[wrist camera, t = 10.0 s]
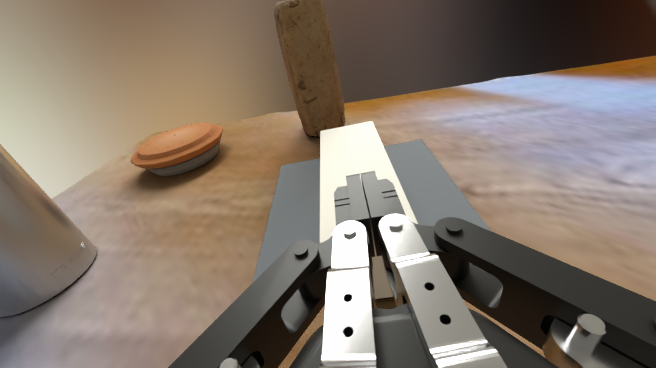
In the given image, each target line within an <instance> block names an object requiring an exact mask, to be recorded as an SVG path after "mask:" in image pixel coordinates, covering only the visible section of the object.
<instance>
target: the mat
mask: <svg viewBox="0 0 656 368" xmlns="http://www.w3.org/2000/svg"><path fill="white" fill-rule="evenodd" d="M384 148H385V151H386V153H387V155H388V157H389V160H390V162H391V164H392V166H393V169H394V171H395V173H396V175H397V178H398V180H399V182H400V184H401V186H402V189H403V191H404V193H405V195H406V198H407V200H408V202H409V204H410V207H411V209H412V211H413V213H414V216H415V218H416V220H417V222H418V224H419V225H425V226H435V224H436V222H437V221H439V220H440V219H443V218H447V217H456V218H460V219H463V220H466V221H468V222H470V223H473V224H475V225H477V226H480V227H482V228H484V229H487V230H489V231H490V229H489V228H488V227H487V225H486V224H485V223H484V221H483V220H482V219H481V217H480V216H479V215H478V213H477V212H476V211H475V209H474V208H473V207H472V205H471V204H470V203H469V201H468V200H467V199H466V197H465V196H464V195H463V193H462V192H461V191H460V189H459V188H458V187H457V185H456V184H455V183H454V181H453V180H452V179H451V177H450V176H449V175H448V173H447V172H446V171H445V170H444V168H443V167H442V166H441V164H440V163H439V162H438V160H437V159H436V158H435V156H434V155H433V154H432V152H431V151H430V150H429V148H428V147H427V146H426V144H425V143H424V142H423V140H422V139H420V140H415V141H410V142H404V143H399V144H394V145H388V146H384ZM300 240H311V241H313V242H314V243H316V245H317V244H319V243H320V158H318V159H313V160H307V161H302V162H297V163H291V164H286V165H282V166H281V170H280V174H279V178H278V182H277V186H276V190H275V194H274V198H273V202H272V206H271V210H270V214H269V219H268V223H267V227H266V231H265V235H264V239H263V243H262V247H261V251H260V255H259V259H258V263H257V267H256V271H255V275H254V279H253V282H254V281H255V280H256V279H257V278H258V277H259V276H260V275H261V274H262V273H263V272H264V271H265V270H266V269H267V268H268V267H269V266H270V265H271V264H272V263H273V262H274V261H275V260H276V259H277V258H278V257H279V256H280V255H281V254H282V253H283V252H284V251H285V250H286V249H287V248H288V247H289V246H290V245H292V244H293V243H295V242H297V241H300ZM470 264H471V263H470ZM483 271H484V270H483ZM485 272H486V271H485Z"/></svg>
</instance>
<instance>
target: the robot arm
mask: <svg viewBox="0 0 656 368" xmlns="http://www.w3.org/2000/svg"><path fill="white" fill-rule="evenodd" d="M361 180H362V182H361ZM346 181H347V186H341V187H337V189H336V191H335V192H334V204H335V219H336V228H335V230H334V232H333V235H332V236H331V237H330V238H329V239H328V240H326V241H324V242H322V243H319V244H317V245H316V243H314V242H313V241H311V240H300V241H297V242H295V243H293V244H292V245H290V246H289V247H288V248H287V249H286V250H285V251H284V252H283V253H282V254H281V255H280V256H279V257H278V258H277V259H276V260H275V261H274V262H273V263H272V264H271V265H270V266H269V267H268V268H267V269H266V270H265V271H264V272H263V273H262V274H261V275H260V276H259V277H258V278H257V279H256V280H255V281H254V282H253V283H252V284H251V285H250V286H249V287H248V288H247V289H246V290H245V291H244V292H243V293H242V294H241V295H240V296H239V297H238V298H237V299H236V300H235V301H234V302H233V303H232V304H231V305H230V306H229V307H228V308H227V309H226V310H225V311H224V312H223V313H222V314H221V315H220V316H219V317H218V318H217V319H216V320H215V321H214V322H213V323H212V324H211V325H210V326H209V327H208V328H207V329H206V330H205V331H204V332H203V333H202V334H201V335H200V336H199V337H198V338H197V339H196V340H195V341H194V342H193V343H192V344H191V345H190V346H189V347H188V348H187V349H186V350H185V351H184V352H183V353H182V354H181V355H180V356H179V357H178V358H177V359H176V360H175V361H174V362H173V363H172V364H171V365H170V366H169V367H168V368H278V367H279V365H280V364H281V363H282V361H283V360H284V359H285V357H286V356H287V355H288V353H289V352H290V350H291V349H292V348H293V346H294V345H295V344H296V342H297V341H298V340H299V338H300V337H301V336H302V334H303V333H304V332H305V330H306V329H307V328H308V326H309V325H310V324H311V322H312V321H313V319H314V318H315V317H316V315H317V314H318V313H319V311H320V310H321V309H322V307H323V306H324V305H325V317H324V325H323V326H321V327H320V328H319V329H318V330H316V331H315V332H314V333H313V335H312V336H311V337H310V338H309V339H308V341H307V342H306V344H305V345H304V347H303V348H302V350H301V351H300V353H299V354H298V356H297V357H296V359H295V360H294V361H293V363H292V364H291V366H290V367H289V368H656V301H653V300H651V299H649V298H646V297H644V296H642V295H639V294H637V293H635V292H632V291H630V290H628V289H625V288H623V287H621V286H618V285H616V284H613V283H611V282H609V281H606V280H604V279H602V278H599V277H597V276H595V275H592V274H590V273H588V272H585V271H583V270H581V269H578V268H576V267H574V266H571V265H569V264H567V263H564V262H562V261H559V260H557V259H555V258H552V257H550V256H548V255H545V254H543V253H541V252H538V251H536V250H534V249H531V248H529V247H527V246H524V245H522V244H520V243H517V242H515V241H513V240H510V239H508V238H505V237H503V236H501V235H498V234H496V233H494V232H491V231H489V230H487V229H484V228H482V227H480V226H477V225H475V224H473V223H470V222H468V221H466V220H463V219H460V218H456V217H447V218H443V219H440V220H439V221H437V222H436V224H435V226H425V225H419V224H416V223H414V222H412V221H411V219H410V218H409V217H407V216H406V214H405V212H404V209H403V207H402V204H401V202H400V199H399V197H398V195H397V192H396V190H395V187H394V185H393V183H392V182H391V181H389V180H388V179H381V180H377V177H376V173H375V171H371V172H365V173H361V178H360V174H354V175H349V176H346ZM362 186H363V187H362ZM373 241H374V244H373ZM374 246H375V250H376V255H377V256H382V259H383V264H384V271H385V274H386V277H387V280H388V283H389V286H390V289H391V292H392V295H393V298H394V301H395V304H396V308H393V309H380V308H376V300H375V290H374V280H373V271H372V269H373V262H372V257H375V251H374ZM96 253H97V250H96V247H95V246H94V245H93V244H92V243H91V242H90V241H89V240H88V238H87V237H86V236H85V235H84V234H83V233H82V232H81V231H80V230H79V229H78V228H77V227H76V225H75V224H74V223H73V222H72V221H71V220H70V219H69V218H68V217H67V215H66V214H65V213H64V212H63V211H62V210H61V209H60V208H59V207H58V206H57V205H56V204H55V203H54V201H53V200H52V199H51V198H50V197H49V196H48V195H47V194H46V193H45V192H44V191H43V190H42V189H41V188H40V186H39V185H38V184H37V183H36V182H35V181H34V180H33V179H32V178H31V177H30V176H29V175H28V174H27V173H26V172H25V170H24V169H23V168H22V167H21V166H20V165H19V164H18V163H17V162H16V161H15V160H14V159H13V157H12V156H11V155H10V154H9V153H8V152H7V151H6V150H5V149H4V148H3V147H2V146H1V145H0V317H7V316H12V315H16V314H19V313H22V312H24V311H27V310H29V309H32V308H34V307H36V306H38V305H40V304H41V303H43V302H45V301H47V300H49V299H50V298H52V297H54V296H55V295H57V294H58V293H60V292H61V291H62V290H64V289H65V288H67V287H68V286H69V285H71V284H72V283H73V282H74V281H75V280H76V279H78V278H79V277H80V276H81V275H82V274H83V273H84V272H85V271H86V270H87V269H88V267H89V266H90V265H91V264H92V262H93V260H94V259H95V257H96ZM470 263H471V264H470ZM483 270H484V271H483ZM485 271H486V272H485ZM463 299H464V300H465V301H467V302H468V303H470V304H472V305H473V306H475V307H476V308H478V309H479V310H481V311H483V312H484V313H486V314H487V315H489V316H490V317H492V318H493V319H495V320H497V321H498V322H500V323H501V324H503V325H504V326H506V327H508V328H509V329H511V330H512V331H514V332H515V333H517V334H518V335H520V336H522V337H523V338H525V339H526V340H528V341H529V342H531V343H533V344H534V345H536V346H537V347H539V348H540V349H542V350H543V352H544V355H545V357H546V358H544V357H543V356H541V355H540V354H539V353H537V352H536V351H534V350H533V349H531V348H530V347H528V346H527V345H525V344H524V343H522V342H521V341H520V340H518V339H517V338H515V337H514V336H512V335H511V334H509V333H508V332H506V331H505V330H504V329H502V328H501V327H499V326H498V325H496V324H495V323H493V322H492V321H490V320H489V319H488V318H486V317H484V316H483V315H481V314H479V313H477V312H475V311H473V310H471V309H469V308H467V306H466V304H465V303H464V301H463Z"/></svg>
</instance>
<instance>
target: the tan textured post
mask: <svg viewBox="0 0 656 368" xmlns="http://www.w3.org/2000/svg"><path fill="white" fill-rule="evenodd" d="M274 16H275V21H276V27H277V33H278V38H279V43H280V47H281V51H282V55H283V59H284V63H285V67H286V71H287V75H288V79H289V82H290V86H291V90H292V93H293V97H294V100H295V104H296V107H297V111H298V114H299V117H300V119H301V123H302V126H303V128H304V131H305V132H306V133H307V134H308V135H311V136H320V131H323V130H328V129H333V128H338V127H343V126H344V124H345V115H344V103H343V97H342V91H341V84H340V79H339V72H338V67H337V61H336V56H335V52H334V46H333V41H332V36H331V31H330V26H329V22H328V17H327V12H326V8H325V4H324V0H287V1H281V2H278V3H277V4H276V5H275V7H274Z"/></svg>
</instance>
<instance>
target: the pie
mask: <svg viewBox="0 0 656 368" xmlns="http://www.w3.org/2000/svg"><path fill="white" fill-rule="evenodd" d="M222 131H223V128H222V127H221V126H220V125H215V124H209V123H195V124H190V125H185V126H182V127H178V128H175V129H172V130H170V131H167V132H164V133H162V134H160V135H158V136H156V137H154V138H152V139H150V140H148V141H147V142H145V143H144V144H143V145H141V146H140V148H139V149H138V151H137V152H135V153H134V155H133V156H132V157H131V163H133V164H134V165H135V166H138V167H141V168H146V169H147V170H149V171H151V172H153V173H155V174H157V175H159V176H173V175H178V174H182V173H185V172H188V171H191V170H193V169H195V168H198V167H200V166H202V165H204V164H205V163H207V162H209V161H210V160H211V159H212V158H214V157H215V156H216V154H217V153H218V151H219V145H220V139H221V135H222Z"/></svg>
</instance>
